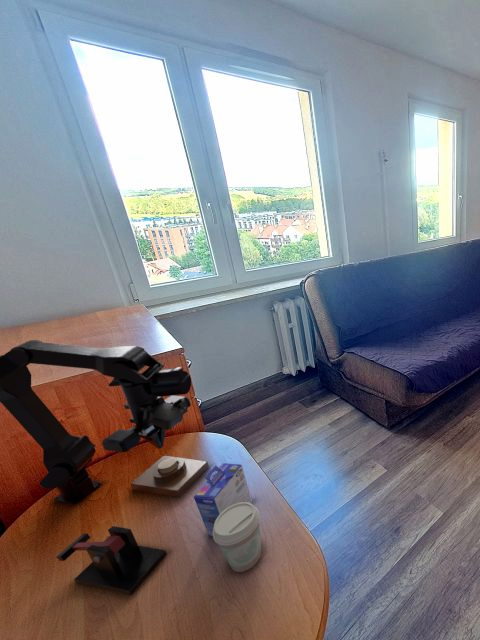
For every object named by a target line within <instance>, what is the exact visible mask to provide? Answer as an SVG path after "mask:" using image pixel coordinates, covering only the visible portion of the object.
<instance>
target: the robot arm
mask: <svg viewBox="0 0 480 640" xmlns="http://www.w3.org/2000/svg"><path fill="white" fill-rule="evenodd" d="M30 364H32V365H33V364H34V365H44V366H54V367H63V368H76V369H83V370H84V369H85V370H92V371H93V370H94V371H97V372H98V373H100V374H101V375H103V376H105V377H110V378H113V379H112V381H110V382H109V383H108V386H109V387H120V388H121V390H122V393H123V395H124V397H125V398H124V399H125V401H126V403H125V404H123V407H124V409H125V410H129V411H130V414H131V417H130V418H129V419H128V420H129V423H131V424H135V425H133V426H132V427H130V428H129V429H121V428H119V429H116V431H114V432H112V433H111V434H109V435H108V436H106V437H104V439H103V440H102V443H101V444H102V447H103V450H105V451H111V452H117V453H126V452H128V451H130V450H131V449H133V448H134V447H136V446H137V445H138V444H140V441H141V439H143V440H145V441H146V442H148V443H149V444H151V446H153V447H155V448H156V449H158V450H159V449H160V450H161V449H162V448H164V443H165V438H166V431H169V430H172V429H173V428H174V427H176V426H177V425H178V424H179V423H181V422H182V421H183V420H184V419H183V418H184V415H185V414H186V413H188V411H189V410H188V408H189V407H191V406H192V404H191V400H190V399H189V397H188V396H183V395H187V394H188V393H189V392H190V390H191V387H192V376H191V375H190V374H189V372H187V371H186V370H184V369H183V367H182V366H177V367H173V368H165V369H164V367H165V364H163V362H161V361H160V360H159V359H157V358H155V357H154V356H152V355H151V354H150V353H148V351H147V350H145V348H144V347H141V346H138V345H120V346H114V347H108V348H99V347H89V346H81V345H73V344H62V343H55V342H46V341H45V342H44V341H42V340H39V339H33V340H32V339H31V340H30V339H29V340H27V341H25V342H23V343H20V344H18V345H17V346H14V347H12V348H11V349H9V351H8V352H6V353H4V354H0V403H1V405H3V407H4V408H5V409H6V410H7V411H8V412H9V413H10V414H11V415H12V416H13V418H14V419H15V420H16V421H17V422H18V423H19V424H20V425H21V427H22V428H24V430H25V431H26V432H27V434H28V435H30V437H31V438H32V439H33V440H34V441H35V442H36V443H37V444H38V446H39V447H40V448H41V449H42V463H43V466H44V467H45V469H46V470H47V474H46V475H45V476H44V477H43V478H42V479H41V480H40V481H39V483H38V484H39V485H40V486H41V487H42V488H43V489H45V490H49V489H55V488H56V489H57V490H58V492H59V495H57V496H56V497H55V498H54V499H53V501H55V502H58V503H62V504H63V503H64V504H70V505H76V504H78V503H79V502H81V500H83V499H84V498H85V497H87V496H88V495H90V494H91V493H92V492H93V491H95V490H96V489H97V488H98V487H100V486H102V482H101V481H95V480H92V478H91V477H90V474H89V472H88V470H87V468H86V467H87V466H88V465H89V464H90V463H91V462H92V461H93V457H94V456H95V454H96V452H97V451H96V444H94V443H93V442H92V441H91V440H90V438H89V436H87V435H81V436H78V435H73V434H71V433H69V432H68V430H67V429H66V428H65V427H64V425H63V424H62V423H61V422H60V421H59V420H58V418H57V417H56V416H55V415H54V413H53V412H52V411H51V410H50V409H49V407H48V406H47V405H46V404H45V403H44V402H43V401H42V399H41V398H40V397H39V396H38V394H37V393H36V392H35V391H34V390H33V388H32V373H31V371H30V369H29V367H28V366H29V365H30ZM145 367H148V368H146V369H145V370H144V371H143V372H141V371H142V370H143V369H144V368H145ZM164 397H167V398H164Z"/></svg>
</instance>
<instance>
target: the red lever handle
mask: <svg viewBox="0 0 480 640" xmlns="http://www.w3.org/2000/svg"><path fill="white" fill-rule="evenodd" d="M90 539H91V536H90V534H89V533H88V532H87V533H82V534H81V535H80V536H79V537H77V538H76V539H75V540H74V541H72V542H71V543H70V544H69V545H68V546H67V547H66V548H64V549H63V550H62V551H61V552H60V553H58V554H57V555H56V556H55V557H56V559H57V560H58V561H59V562H65V561H66V560H67V559H68V558H69V557H70V556H72V555H73V554H74V553H75V552H78V551H80V552H81V551H87V550H86V549H87V548H89V547H90V546H91V545H96V546H101V547H106V548H111V550H112V552H113V554H116V553H117V552H118V551H119V550H120V549H121V548H122V547H123V546H124V545H125V542H124V541H123V540H122V538H121V537H120V536H110V535H109V536H108V537H107V538H105V540H104V541H89V540H90Z"/></svg>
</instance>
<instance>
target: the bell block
mask: <svg viewBox="0 0 480 640" xmlns="http://www.w3.org/2000/svg"><path fill="white" fill-rule="evenodd" d="M168 458H175V459H176V460H177V463H178V466H177V467H176V468H175V469H174V470H173V471H171V472H169V473H164V474H161V473H160V472H159V469H158V465H159V463H160V462H162V461H163V460H165V459H168ZM209 468H210V467H209V463H208V461H206V460H200V459H199V460H198V459H192V458H185V457H178V456H169V455H163V456H162V457H161V458H159V459H158V460H157V461H155V462H154V463H153V464H152V465H151V466H150V467H149V468H147V469H146V470H145V471H144V472H142V473H141V474H140V475H139V476H137V477H136V478H135V479H134V480H132V481H131V482H130V486H131V488H132V490H133V491H138V492H146V493H151V494H158V495H164V496H171V497H177V498H180V497H181V496H182V495H183V494H184V493H185V492H186V491H187V490H188V489H190V487H191V486H192V485H193V484H194V483H195V482H196V481H197V480H198V479H199V478H200V477H201V476H202V475H203V474H204V473H205V472H206V471H207V470H208V469H209Z"/></svg>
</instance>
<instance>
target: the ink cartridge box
mask: <svg viewBox="0 0 480 640" xmlns="http://www.w3.org/2000/svg"><path fill="white" fill-rule="evenodd" d="M204 478H205V480H206V482H205V483H204V484H203V486H201V488H200V489H199V490H198V491H197V492H196V493H195V494H194V496H193V499H194V501H195V504H196V507H197V509H198V512H199V514H200V517H201V519H202V522H203V524H204V527H205V529H206V533H207V535H208V536H212V537H213V527H214V523H215V521H216V519H217V517H218V516H219V515H220V514H221V513H222V512H223V511H224V510H225V509H226V508H228V507H230V506H232V505H234V504H237V503H240V502H248V503H251V504H252V503H253V499H252V496H251V491H250V489H249V486H248V482H247V478H246V474H245V471H244V468H243V464H240V463H239V464H238V463H229V462H228V463H227V462H223V463H221V464H220V465H219V466H217V465H214V467H213V468H212V469H211V470H210V471H209V472H208V473H207V474H206V475H205V476H204Z"/></svg>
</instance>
